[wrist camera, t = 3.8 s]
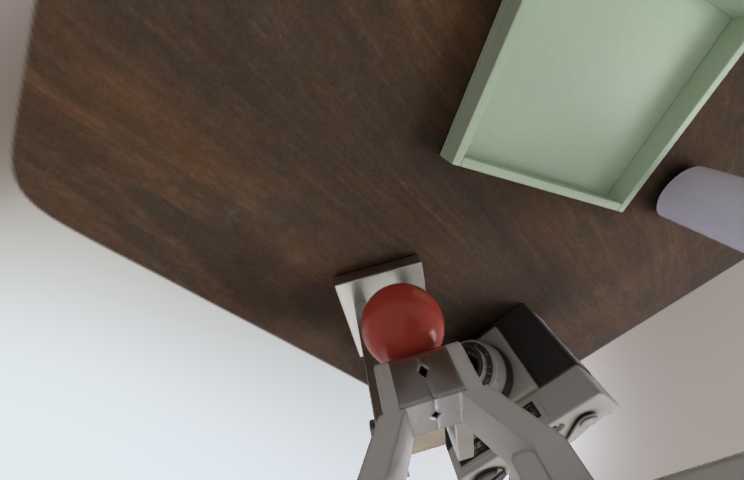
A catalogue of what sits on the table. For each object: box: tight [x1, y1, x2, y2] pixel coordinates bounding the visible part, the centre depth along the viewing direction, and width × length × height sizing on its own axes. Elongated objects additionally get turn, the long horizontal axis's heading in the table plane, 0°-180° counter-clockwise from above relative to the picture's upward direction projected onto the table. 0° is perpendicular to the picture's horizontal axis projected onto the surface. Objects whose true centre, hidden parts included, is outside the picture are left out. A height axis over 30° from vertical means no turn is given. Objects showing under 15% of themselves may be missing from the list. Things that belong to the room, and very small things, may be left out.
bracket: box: [334, 254, 474, 477], centre depth 21 cm, size 9×7×12 cm
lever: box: [361, 283, 446, 454], centre depth 15 cm, size 13×3×3 cm, turn 12°
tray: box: [440, 0, 744, 212], centre depth 19 cm, size 15×13×2 cm
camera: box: [445, 304, 620, 480], centre depth 27 cm, size 14×8×10 cm, turn 137°
